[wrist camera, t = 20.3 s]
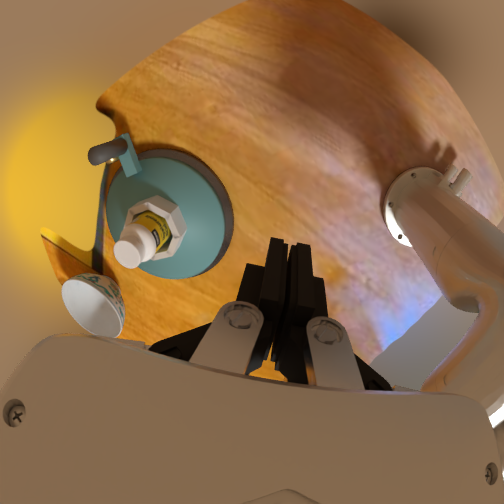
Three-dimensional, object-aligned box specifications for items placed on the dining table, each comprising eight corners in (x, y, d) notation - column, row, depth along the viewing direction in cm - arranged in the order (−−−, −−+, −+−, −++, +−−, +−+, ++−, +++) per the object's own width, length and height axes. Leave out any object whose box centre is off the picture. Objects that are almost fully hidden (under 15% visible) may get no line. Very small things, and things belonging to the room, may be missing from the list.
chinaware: (144, 320, 55) (129, 346, 49) (92, 307, 57) (75, 328, 50) (130, 262, 48) (109, 287, 41) (74, 253, 49) (52, 273, 43)
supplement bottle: (182, 227, 39) (153, 263, 31) (158, 243, 42) (127, 279, 33) (160, 198, 38) (124, 227, 29) (137, 216, 40) (101, 247, 31)
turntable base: (132, 122, 35) (115, 126, 31) (262, 197, 38) (258, 208, 34) (96, 232, 46) (82, 244, 42) (197, 295, 49) (189, 311, 45)
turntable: (84, 159, 37) (48, 175, 29) (187, 106, 32) (156, 108, 24) (142, 281, 48) (119, 313, 40) (243, 262, 43) (232, 299, 35)
